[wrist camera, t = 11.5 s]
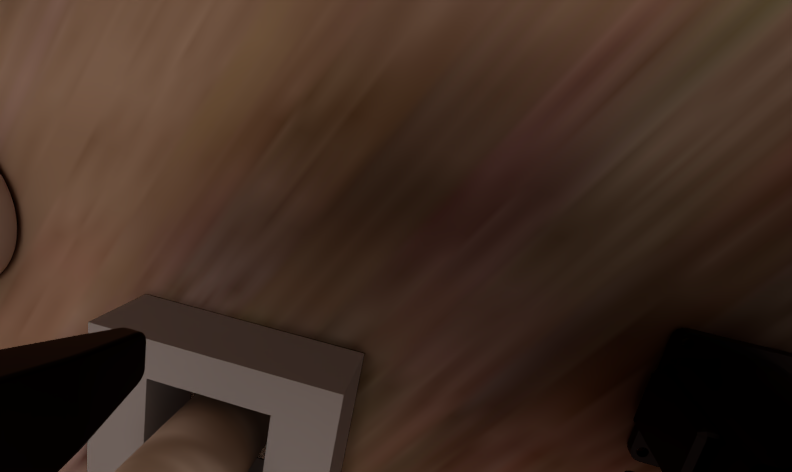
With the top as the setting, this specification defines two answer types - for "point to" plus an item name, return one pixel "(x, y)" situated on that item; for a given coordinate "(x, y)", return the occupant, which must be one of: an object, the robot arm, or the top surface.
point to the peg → (203, 440)
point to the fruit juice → (6, 225)
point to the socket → (232, 384)
